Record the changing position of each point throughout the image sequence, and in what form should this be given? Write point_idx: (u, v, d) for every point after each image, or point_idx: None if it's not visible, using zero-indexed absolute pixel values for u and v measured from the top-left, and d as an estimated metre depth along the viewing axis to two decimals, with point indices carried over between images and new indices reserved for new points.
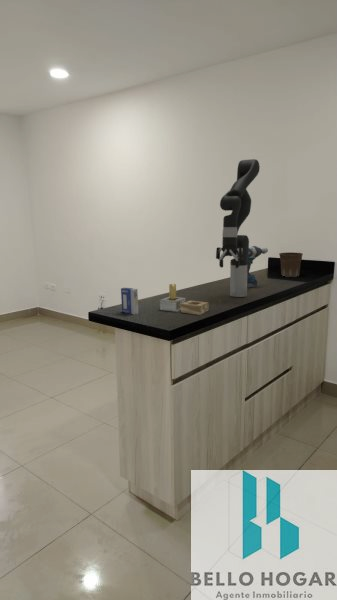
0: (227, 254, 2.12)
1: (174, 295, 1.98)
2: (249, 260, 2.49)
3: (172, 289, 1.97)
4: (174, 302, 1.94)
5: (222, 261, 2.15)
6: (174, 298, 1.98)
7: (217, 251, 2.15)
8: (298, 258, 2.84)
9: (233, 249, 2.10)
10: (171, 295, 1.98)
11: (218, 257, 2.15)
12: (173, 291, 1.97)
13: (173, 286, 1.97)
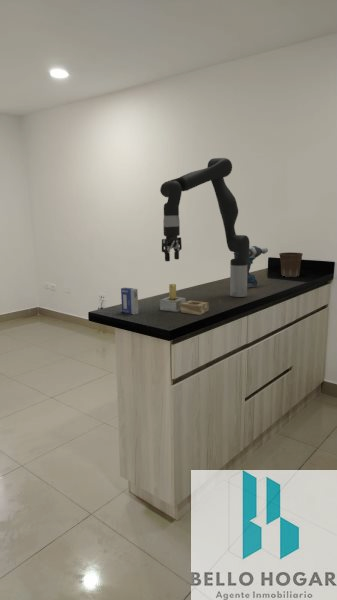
0: (173, 245, 1.93)
1: (174, 295, 1.98)
2: (249, 260, 2.49)
3: (172, 289, 1.97)
4: (174, 302, 1.94)
5: None
6: (174, 298, 1.98)
7: (166, 243, 1.88)
8: (298, 258, 2.84)
9: (176, 239, 1.95)
10: (171, 295, 1.98)
11: None
12: (173, 291, 1.97)
13: (173, 286, 1.97)
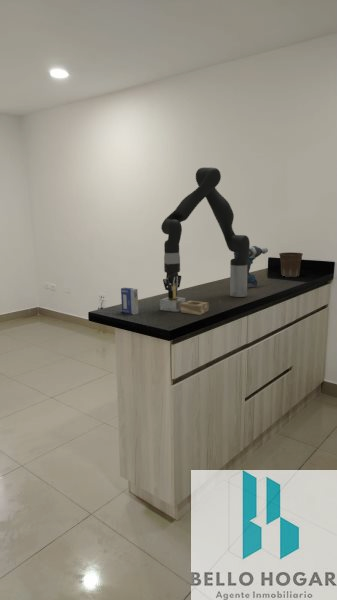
0: None
1: (174, 295, 1.98)
2: (249, 260, 2.49)
3: None
4: (174, 302, 1.94)
5: None
6: (174, 298, 1.98)
7: (168, 283, 1.93)
8: (298, 258, 2.84)
9: None
10: None
11: None
12: (173, 291, 1.97)
13: (173, 286, 1.97)
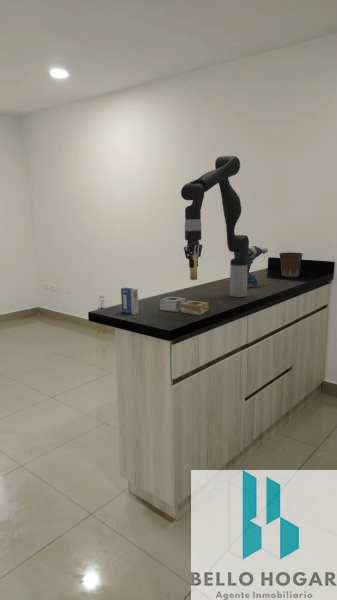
0: None
1: (195, 264, 1.89)
2: (249, 260, 2.49)
3: None
4: (174, 302, 1.94)
5: None
6: (195, 267, 1.89)
7: (189, 251, 1.84)
8: (298, 258, 2.84)
9: None
10: None
11: None
12: (194, 260, 1.88)
13: (194, 255, 1.88)
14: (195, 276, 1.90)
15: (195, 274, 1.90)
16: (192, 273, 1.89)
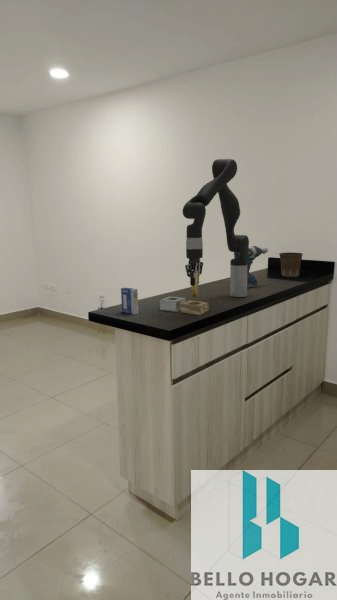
0: None
1: (196, 282, 1.90)
2: (249, 260, 2.49)
3: None
4: (174, 302, 1.94)
5: None
6: (196, 285, 1.90)
7: (191, 269, 1.85)
8: (298, 258, 2.84)
9: None
10: None
11: None
12: (195, 278, 1.89)
13: None
14: (196, 293, 1.91)
15: (196, 292, 1.91)
16: (193, 291, 1.91)
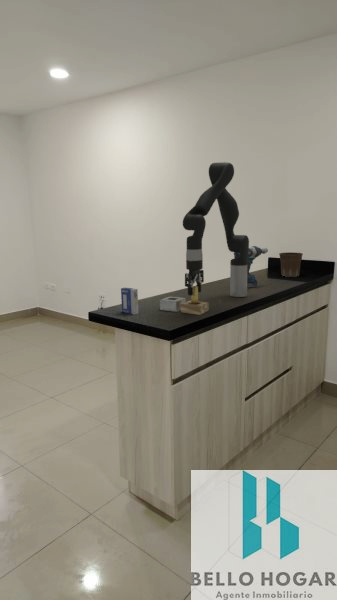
0: (195, 279, 1.90)
1: (196, 297, 1.92)
2: (249, 260, 2.49)
3: (194, 291, 1.91)
4: (174, 302, 1.94)
5: None
6: (196, 300, 1.92)
7: (190, 278, 1.85)
8: (298, 258, 2.84)
9: (199, 272, 1.92)
10: (193, 297, 1.92)
11: None
12: (195, 293, 1.91)
13: (195, 288, 1.91)
14: None
15: None
16: None
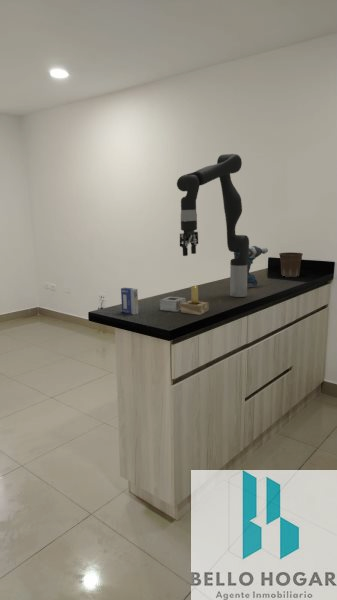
0: (190, 240, 1.92)
1: (196, 297, 1.92)
2: (249, 260, 2.49)
3: (194, 291, 1.91)
4: (174, 302, 1.94)
5: None
6: (196, 300, 1.92)
7: (185, 238, 1.87)
8: (298, 258, 2.84)
9: (193, 233, 1.94)
10: (193, 297, 1.91)
11: None
12: (195, 293, 1.91)
13: (195, 288, 1.90)
14: None
15: None
16: None
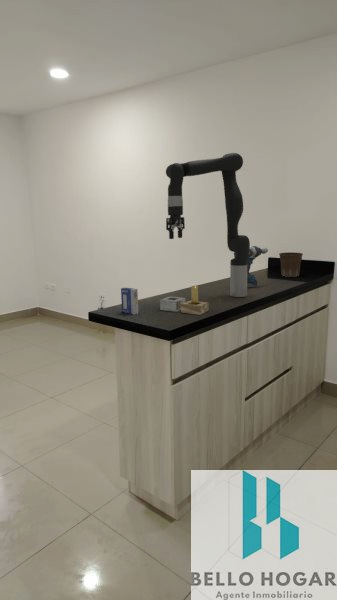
0: (176, 224, 2.06)
1: (196, 297, 1.92)
2: (249, 260, 2.49)
3: (194, 291, 1.91)
4: (174, 302, 1.94)
5: None
6: (196, 300, 1.92)
7: (171, 222, 2.01)
8: (298, 258, 2.84)
9: (180, 219, 2.08)
10: (193, 297, 1.91)
11: None
12: (195, 293, 1.91)
13: (195, 288, 1.90)
14: None
15: None
16: None
